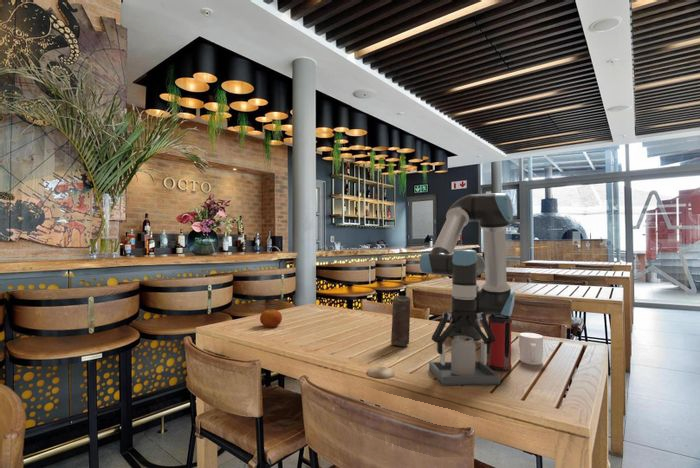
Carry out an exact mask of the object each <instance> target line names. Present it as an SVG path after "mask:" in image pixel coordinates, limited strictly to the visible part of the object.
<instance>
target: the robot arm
mask: <svg viewBox="0 0 700 468" xmlns="http://www.w3.org/2000/svg"><path fill="white" fill-rule="evenodd" d="M445 218H446V220H445V222H444V224H443V226H442V228H441V230H440V233H439V234H438V235H437V239H436V241H435V243H434V244H433V246H432V249H431V251H430V252H424V253H422V254H421V255H420V257H419V268H420V269H419V270H420V271H421V273H423V274H429V275H443V276H452V283H451V286H452V288H451V312H449V313H448V312H446V311H442V313H441V318H440V321H439V323H438V324H437V326H436V328H435V330H434V332H433V334H432V337H431V341H433V342H434V343H436V345H437V346H436V347H437V350H436V351H437V353H438V354H439V362H440V363H441V364H442V365H445V362H446V343H445V341H447V339H448V338H449V337H451V338H454V337H455V336H468V337H471V338H473V339H474V340H482V341H481V342H480V361H481V363H483V364H484V365H486V366H488V365H487V364H488V354H489V345H490V344H491V342H495V337H494V335H493V333H492V331H491V329H490V327H489V322H488V321H487V316H488V317H489V316H490V315H492V314H502V315H507V316H509V317H510V318H511V316H512V314H513V309H514V305H515V300H516V299H515V298H516V297H515V296H516V293H515V292H516V291H514V290H511V285H510V284H509V283H508V282H507V280H508V279H507V278H508V277H507V252H506V251H507V250H506V248H507V247H506V229H507V228H508V227H509V225H510V222H513V219H514V211H513V203H512V200H511V198H510V196H509V194H507V193H503V192H501V193H500V192H495V193H493V192H492V193H475V194H474V193H473V194H467V195H465V196H462V197H461V198H459V199H457V200H456V201H455V202H454V203H452V205H451V206H450V207H449V209H448V210H447V212H446V214H445ZM471 222H477V223H478V224H479V225H478V226H479V227H480V228H481V230H483V249H484V250H483V253H484V258H483V257H482V256H480V255H479V254H477V251H476V249H475V250H474V249H455V248H456V246H457V243H458V241H459V239H460V236H461V234H462V231H463V229H464V227H466V226H467V225H468V223H471ZM483 273H484V276H485V279H484V281H485V282H484V283H483V284H482V286H481V287H480V285H479V284H477V278H478V277H479V276H480V275H482V274H483ZM449 320H450V321H449ZM448 321H449V323H448V326H447V327H446V325H447V322H448ZM480 324H481V325H482V328H483V329H484V332H485V333H484V332H483V330H482V328H481V325H480ZM445 327H446V329H444V328H445ZM474 340H473V341H474Z"/></svg>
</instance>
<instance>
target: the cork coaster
mask: <svg viewBox="0 0 700 468" xmlns="http://www.w3.org/2000/svg"><path fill="white" fill-rule="evenodd" d="M395 373H396V371H395V370H394V369H393V368H391V367H386V366H374V367H373V366H372V367H370V368H368V369H367V371H366V374H367V375H368V376H369V377H373V378H376V379H390V378H393V377H394V376H395Z"/></svg>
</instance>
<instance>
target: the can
mask: <svg viewBox="0 0 700 468" xmlns="http://www.w3.org/2000/svg"><path fill="white" fill-rule="evenodd" d="M476 346H477V344H476V342H475V341H474V339H473V338H471V337H468V336H455V337H453V339H452V340H451V347H450V349H451V350H450V351H451V356H450V357H451V358H450V362H451V372H452V373H453V374H454V375H455V376H474V375H475V361H476V357H477V356H476V351H477V350H476Z"/></svg>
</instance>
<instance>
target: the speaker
mask: <svg viewBox="0 0 700 468" xmlns="http://www.w3.org/2000/svg"><path fill="white" fill-rule="evenodd" d="M487 318H488V325H489V327H490V329H491V331H492V333H493V335H494V337H495V342H491V344H490V345H489V354H487V365H486V366H488V367H489V368H490V369H491V370H493V371H494V370H495V371H498V372H509V371H510V370H512V364H511V363H512V323H513V318H511V316H510V317H509V316H507V315H502V314H492V315H490V316H488V317H487Z"/></svg>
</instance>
